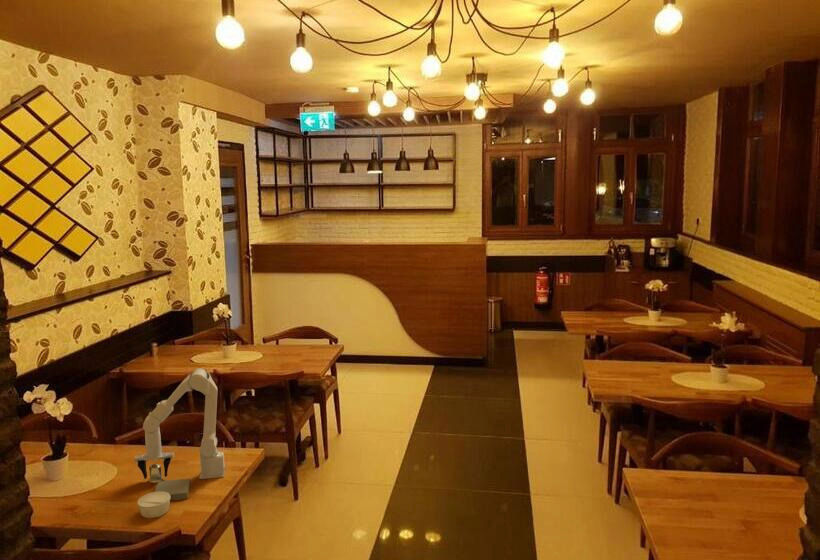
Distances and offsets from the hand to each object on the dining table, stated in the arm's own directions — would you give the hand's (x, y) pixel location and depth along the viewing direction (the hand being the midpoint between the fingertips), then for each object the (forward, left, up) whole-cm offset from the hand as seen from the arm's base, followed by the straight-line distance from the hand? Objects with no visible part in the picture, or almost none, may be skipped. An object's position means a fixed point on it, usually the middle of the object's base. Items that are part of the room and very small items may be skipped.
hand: (155, 476), depth 258 cm
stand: (-8, +13, -1) cm, 15 cm away
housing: (0, 0, -2) cm, 2 cm away
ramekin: (-4, +26, -2) cm, 27 cm away
